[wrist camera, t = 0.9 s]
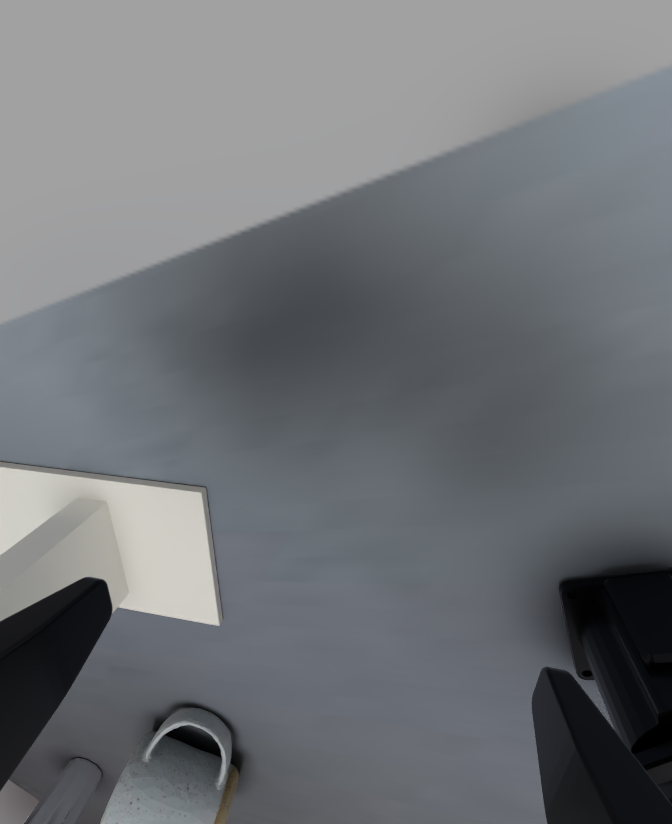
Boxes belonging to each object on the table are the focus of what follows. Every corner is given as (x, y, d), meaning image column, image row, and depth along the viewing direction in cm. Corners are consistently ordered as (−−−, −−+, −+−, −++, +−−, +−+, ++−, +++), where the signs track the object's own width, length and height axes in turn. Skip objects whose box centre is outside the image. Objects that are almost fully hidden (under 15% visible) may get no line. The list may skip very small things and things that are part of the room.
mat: (205, 487, 22) (201, 492, 22) (222, 619, 26) (219, 625, 26) (-91, 450, 26) (-99, 454, 25) (-37, 572, 30) (-44, 577, 29)
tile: (107, 502, 24) (-58, 640, 15) (129, 592, 26) (-1, 751, 18) (72, 497, 24) (-106, 630, 16) (98, 587, 27) (-43, 740, 19)
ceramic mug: (238, 795, 35) (193, 934, 28) (149, 761, 35) (82, 889, 28) (257, 721, 30) (209, 864, 23) (155, 685, 31) (79, 812, 24)
